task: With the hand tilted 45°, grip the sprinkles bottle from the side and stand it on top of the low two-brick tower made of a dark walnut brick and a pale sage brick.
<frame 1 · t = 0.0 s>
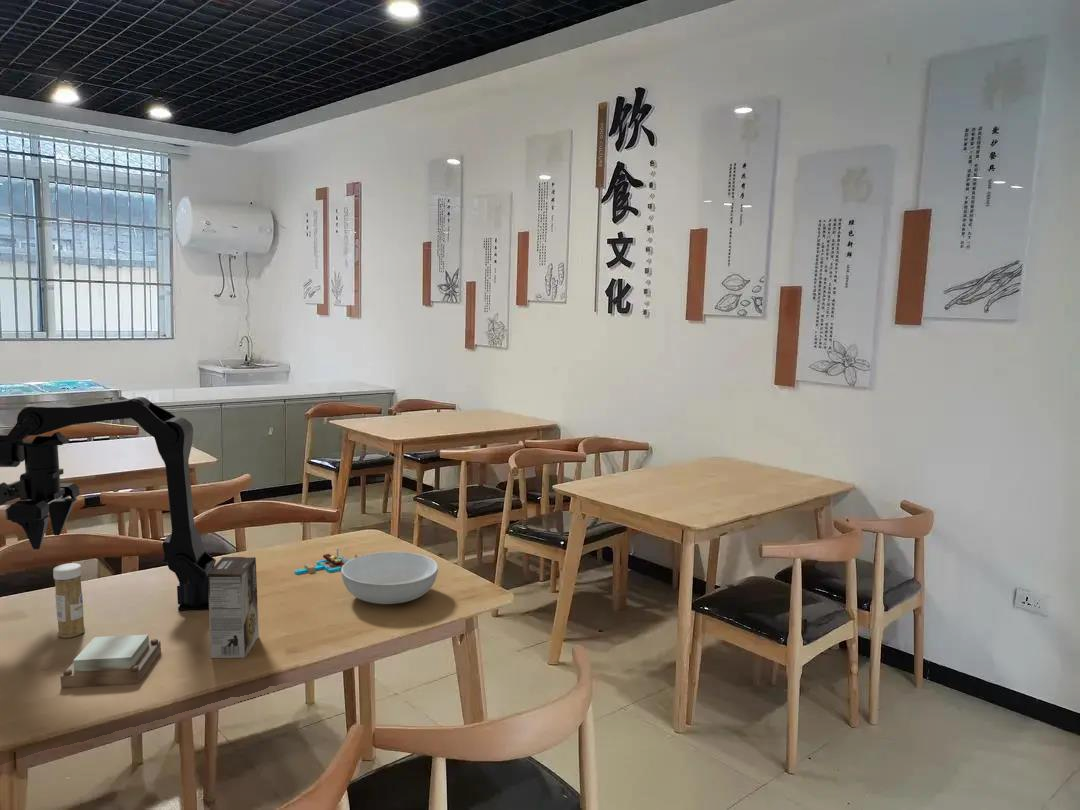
hand: (47, 541, 157), 15 cm above the table, tool pointing down, fingers open, 9 cm apart
sprinkles bottle: (71, 634, 148), on the table
brick tower base: (113, 668, 135), on the table
serving bowl: (390, 597, 170), on the table
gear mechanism: (334, 567, 189), on the table
coffee box: (235, 648, 144), on the table
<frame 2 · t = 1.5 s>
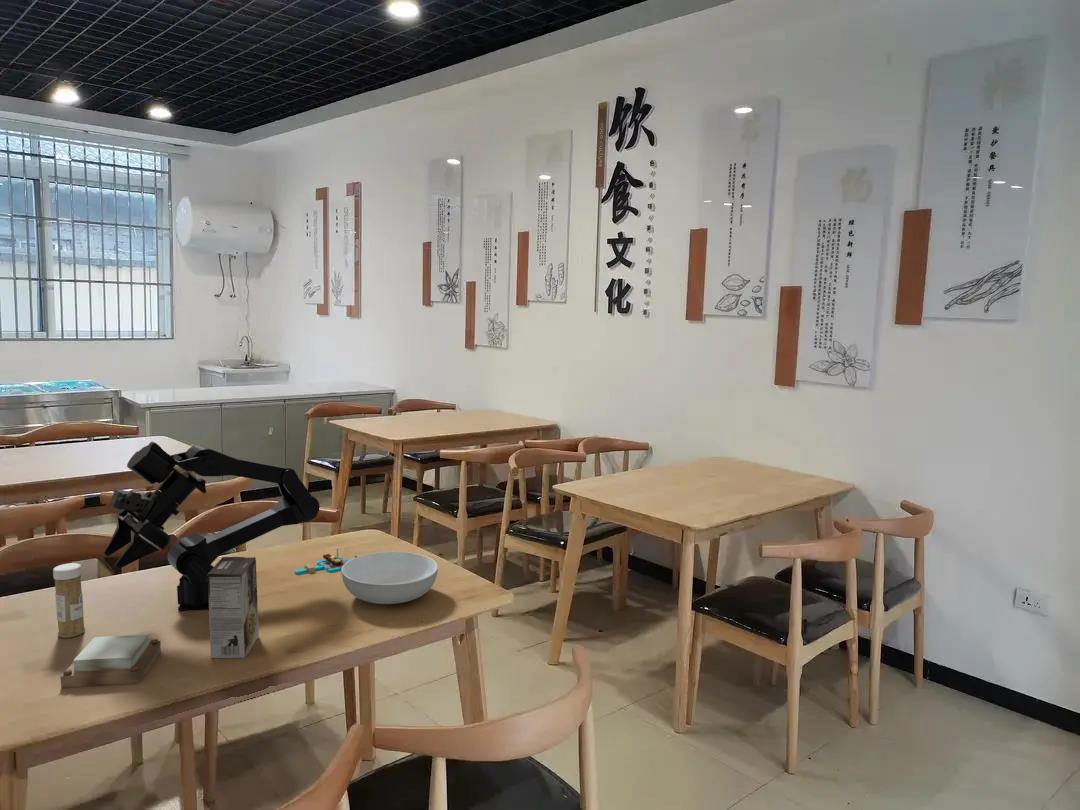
hand: (111, 560, 151), 13 cm above the table, tool tilted 45°, fingers open, 9 cm apart
nothing on the table moved.
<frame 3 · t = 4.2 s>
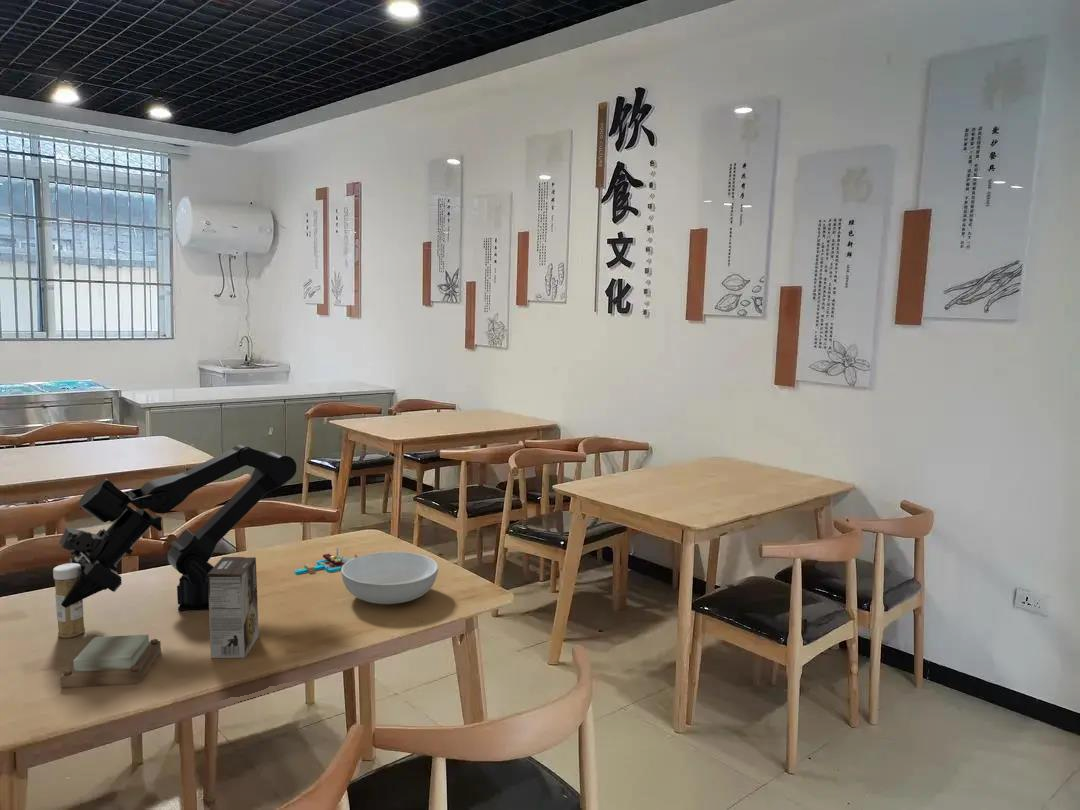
hand: (60, 602, 147), 7 cm above the table, tool tilted 45°, fingers closed on sprinkles bottle, 4 cm apart
sprinkles bottle: (71, 634, 148), on the table, touching gripper
everything else where it was.
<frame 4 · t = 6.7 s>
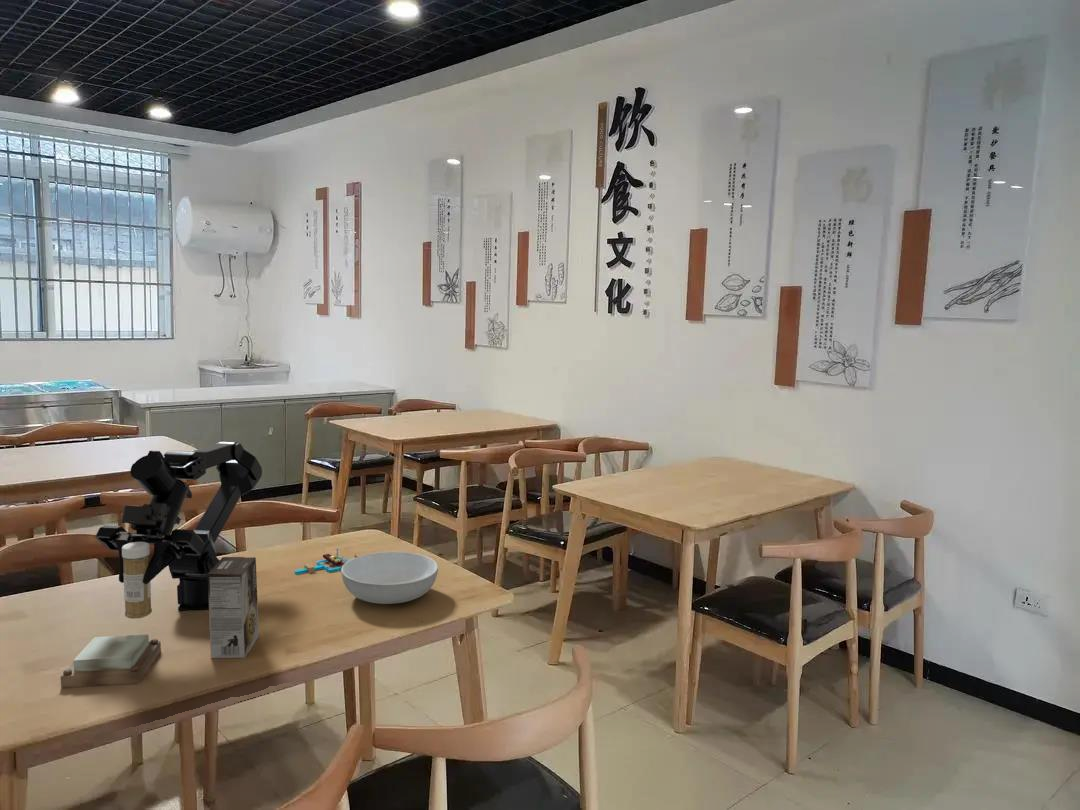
hand: (132, 582, 141), 13 cm above the table, tool tilted 45°, fingers closed on sprinkles bottle, 4 cm apart
sprinkles bottle: (138, 615, 143), point 6 cm above the table, touching gripper
everything else where it was.
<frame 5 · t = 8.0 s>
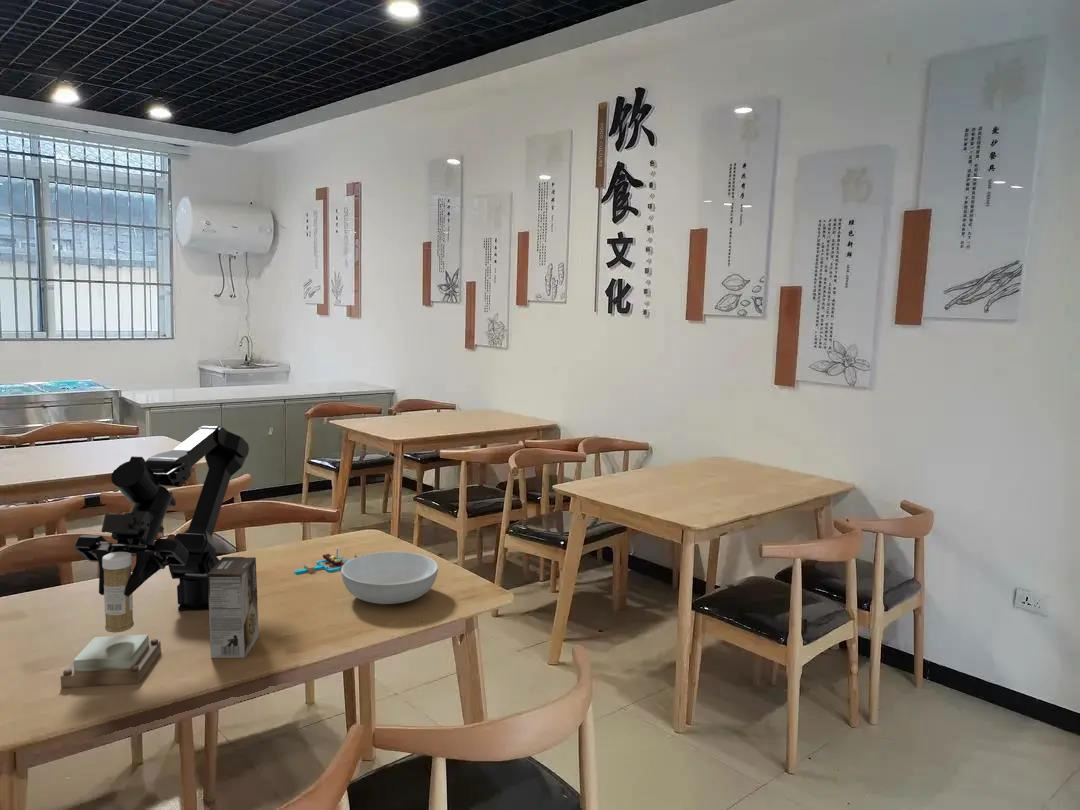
hand: (113, 594, 134), 13 cm above the table, tool tilted 45°, fingers closed on sprinkles bottle, 4 cm apart
sprinkles bottle: (119, 629, 137), point 6 cm above the table, touching gripper
everything else where it was.
when the fingers open (12 cm above the table, at t = 9.2 s): sprinkles bottle drops 1 cm, resting on brick tower base.
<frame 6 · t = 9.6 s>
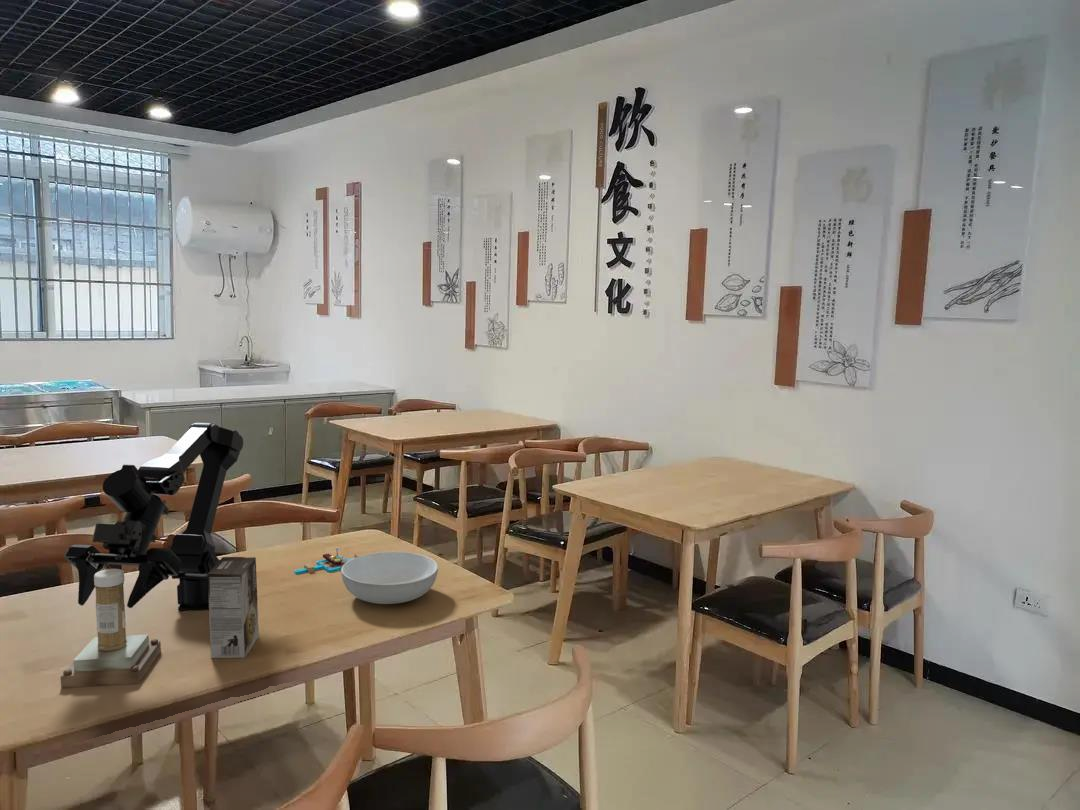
hand: (104, 605, 132), 12 cm above the table, tool tilted 45°, fingers open, 8 cm apart
sprinkles bottle: (112, 647, 135), point 4 cm above the table, touching brick tower base
everything else where it was.
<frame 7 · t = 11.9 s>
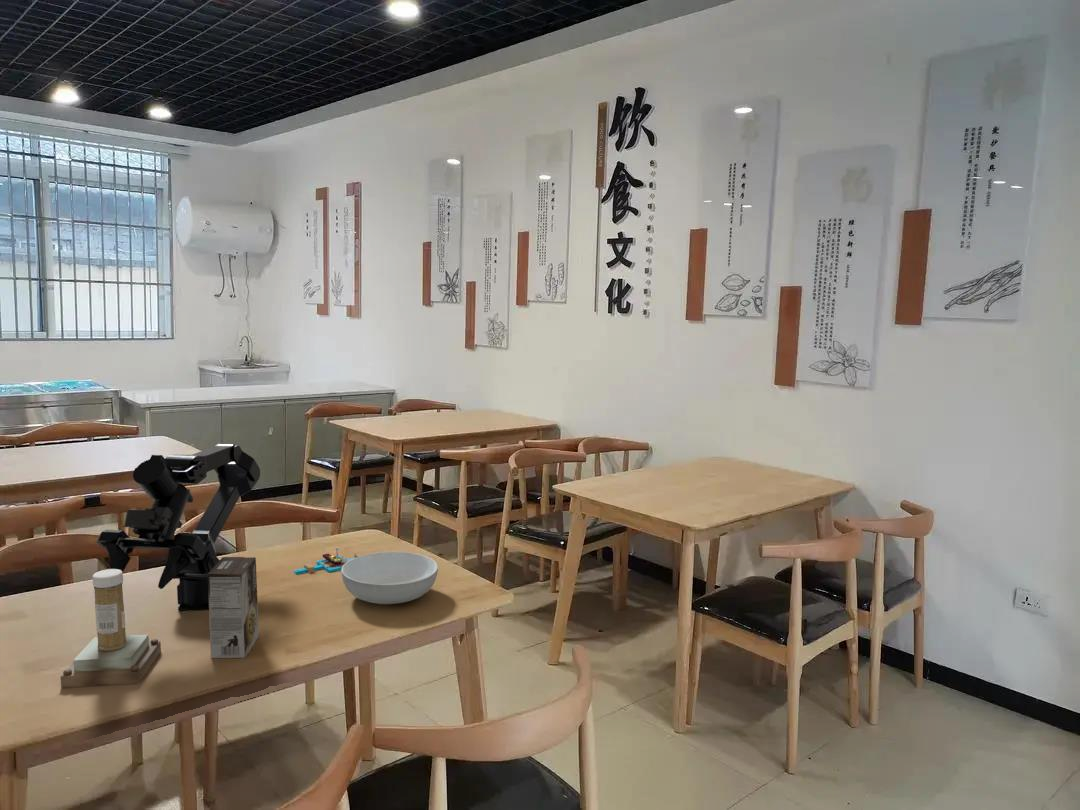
hand: (135, 586, 141), 12 cm above the table, tool tilted 45°, fingers open, 9 cm apart
nothing on the table moved.
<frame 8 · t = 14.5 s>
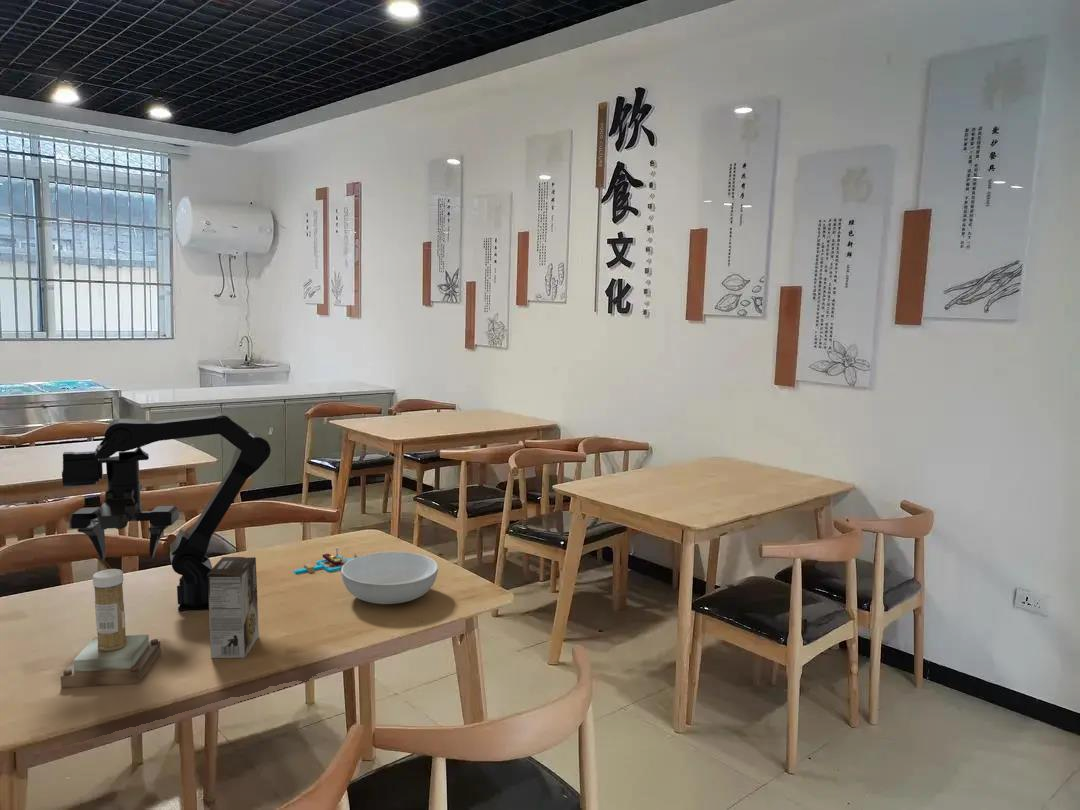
hand: (127, 558, 156), 12 cm above the table, tool pointing down, fingers open, 9 cm apart
nothing on the table moved.
at the end: sprinkles bottle 0.1 cm off-centre on the brick tower base, point 3.8 cm above the brick tower base's base; sprinkles bottle tilted 0°; the gripper is holding nothing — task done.
